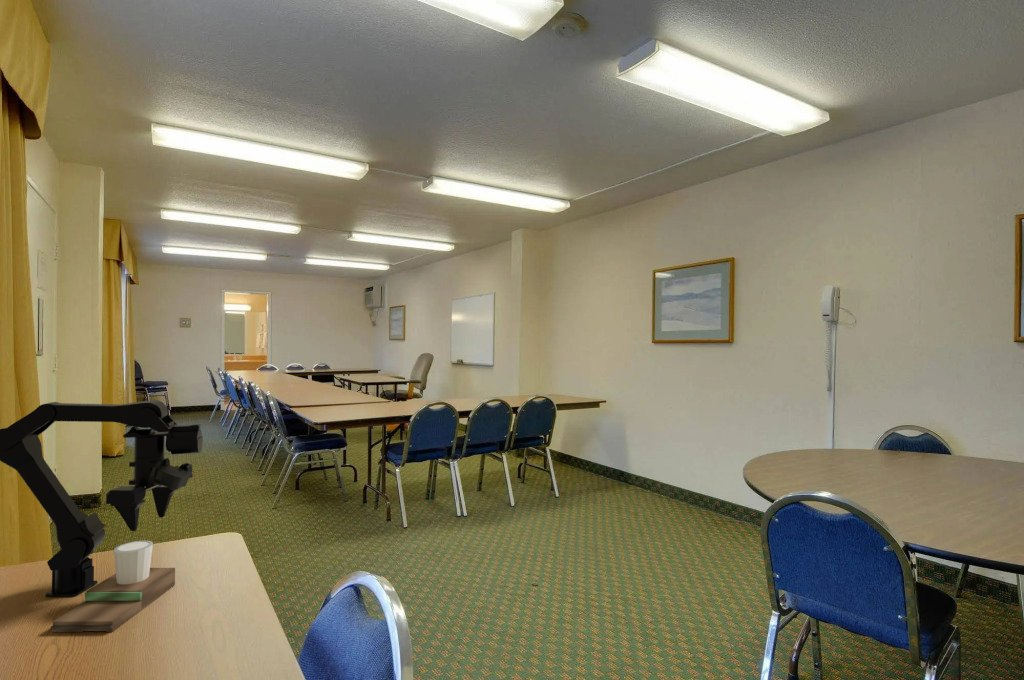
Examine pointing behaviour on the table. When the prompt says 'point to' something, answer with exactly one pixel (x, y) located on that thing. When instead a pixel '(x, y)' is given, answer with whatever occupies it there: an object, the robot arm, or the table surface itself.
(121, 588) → the stepped riser
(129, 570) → the white tapered cup
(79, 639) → the table surface
